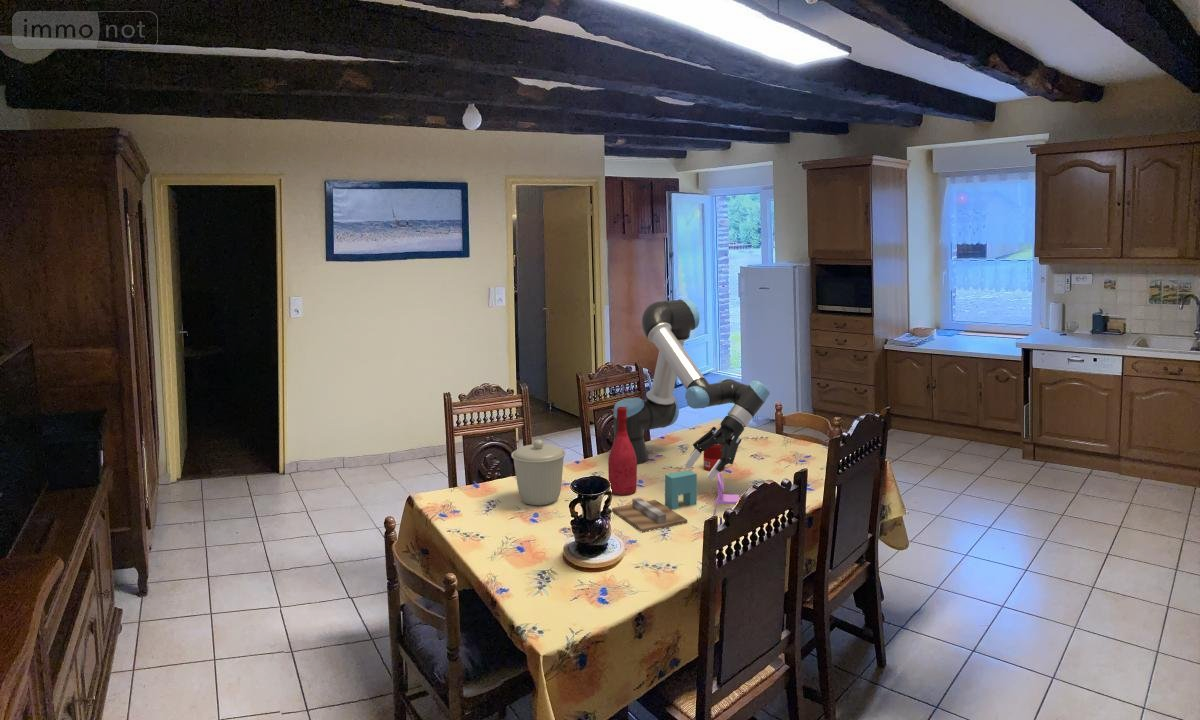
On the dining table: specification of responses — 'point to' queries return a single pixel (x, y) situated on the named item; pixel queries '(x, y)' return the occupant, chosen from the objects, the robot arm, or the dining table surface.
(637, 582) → the dining table surface
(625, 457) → the wine bottle
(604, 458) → the dining table surface
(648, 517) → the rail board
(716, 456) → the canned food
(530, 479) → the canister
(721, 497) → the toy chair
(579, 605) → the dining table surface
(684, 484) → the clip
